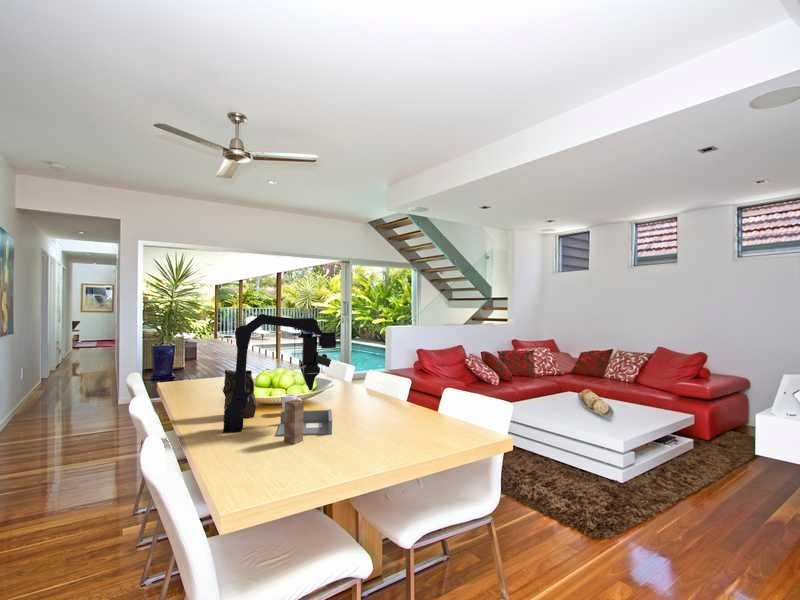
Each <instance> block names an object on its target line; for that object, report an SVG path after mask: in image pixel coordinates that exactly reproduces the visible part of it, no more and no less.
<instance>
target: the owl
mask: <svg viewBox="0 0 800 600" xmlns="http://www.w3.org/2000/svg"><path fill="white" fill-rule="evenodd" d="M252 373H253V372H252V370H249V369H248V370H246V378H245V387H246V390H247V389H250V390H249V395H248V397H249V403H247V404H246V407H245V408H244V409H243V410H241V412H242V416H243V417H244V418H247V419H251V418H250V417H254V416H255V415H256V410H257V401H256V395H255V393H254V392H255V381H254V379H253V378H254V376H253V375H252ZM224 374H225V375H224V383H223V384H224V385H223V389H222V391H223V395H224V397H225V398H224V406H223V410H225V408H226V406H227V405H228V404H229V403H230V402H231V399H232V395H233V391H234V387H235V376H236V369H234V370H230V369H229V370H227V369H225V370H224ZM254 418H255V417H254Z"/></svg>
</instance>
